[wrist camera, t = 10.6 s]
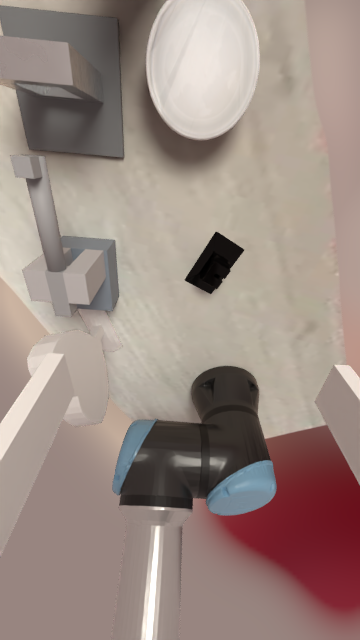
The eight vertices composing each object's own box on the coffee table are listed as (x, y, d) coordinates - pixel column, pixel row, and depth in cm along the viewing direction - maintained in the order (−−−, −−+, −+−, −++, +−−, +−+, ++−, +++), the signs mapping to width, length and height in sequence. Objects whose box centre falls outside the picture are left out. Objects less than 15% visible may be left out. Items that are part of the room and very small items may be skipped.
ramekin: (145, 10, 26) (137, -18, 21) (254, 3, 25) (269, -27, 21) (155, 143, 32) (151, 142, 28) (243, 139, 32) (252, 137, 27)
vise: (119, 296, 45) (96, 348, 33) (73, 292, 44) (34, 344, 33) (108, 155, 33) (67, 160, 21) (46, 150, 33) (-30, 151, 21)
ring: (103, 102, 29) (73, 85, 21) (34, 96, 29) (-25, 76, 21) (101, 73, 28) (67, 42, 20) (28, 66, 28) (-37, 31, 19)
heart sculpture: (68, 294, 45) (12, 367, 30) (94, 288, 44) (50, 360, 29) (104, 357, 53) (73, 438, 38) (126, 353, 52) (104, 433, 38)
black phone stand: (209, 301, 46) (211, 315, 42) (174, 282, 44) (174, 295, 40) (253, 243, 40) (261, 253, 36) (216, 218, 38) (219, 226, 34)
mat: (124, 157, 33) (123, 157, 32) (31, 149, 32) (28, 149, 32) (118, 20, 26) (116, 18, 26) (0, 7, 26) (-3, 5, 25)
